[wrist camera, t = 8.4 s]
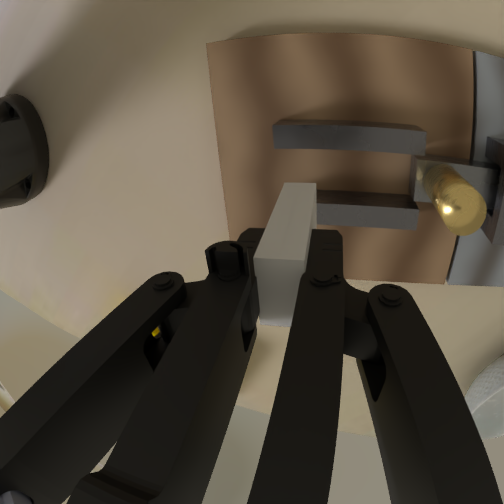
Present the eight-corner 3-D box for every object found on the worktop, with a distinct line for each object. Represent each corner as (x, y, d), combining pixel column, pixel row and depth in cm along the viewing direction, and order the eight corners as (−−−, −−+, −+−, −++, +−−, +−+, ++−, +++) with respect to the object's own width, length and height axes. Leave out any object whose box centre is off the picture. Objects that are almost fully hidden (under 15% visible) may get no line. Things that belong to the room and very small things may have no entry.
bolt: (408, 191, 21) (430, 235, 16) (411, 152, 20) (438, 183, 14) (513, 203, 19) (554, 246, 13) (520, 168, 17) (566, 204, 11)
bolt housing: (284, 207, 25) (275, 230, 22) (279, 119, 21) (268, 128, 18) (530, 226, 19) (551, 249, 16) (545, 150, 16) (571, 165, 12)
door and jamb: (240, 259, 31) (234, 270, 30) (215, 45, 21) (206, 43, 19) (507, 275, 24) (514, 287, 22) (541, 74, 14) (553, 76, 12)
